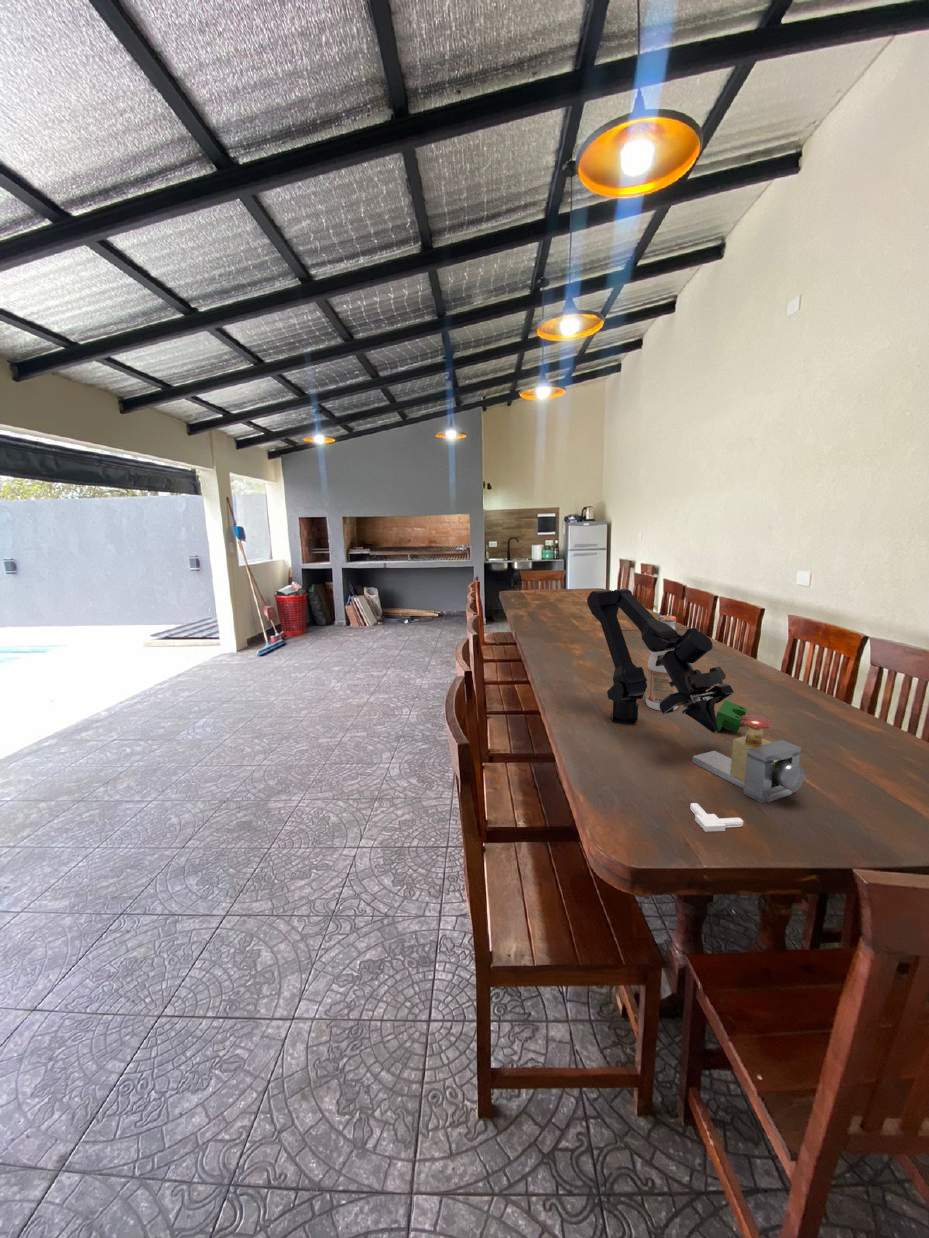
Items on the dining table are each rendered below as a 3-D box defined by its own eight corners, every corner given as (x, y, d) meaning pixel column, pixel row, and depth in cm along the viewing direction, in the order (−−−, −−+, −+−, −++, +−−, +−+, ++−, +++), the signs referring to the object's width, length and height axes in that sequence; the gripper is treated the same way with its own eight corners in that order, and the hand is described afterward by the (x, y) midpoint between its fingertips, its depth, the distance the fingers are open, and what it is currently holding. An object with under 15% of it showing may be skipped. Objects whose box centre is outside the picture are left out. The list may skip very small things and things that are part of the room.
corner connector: (723, 807, 99) (723, 800, 99) (747, 832, 92) (748, 824, 91) (683, 809, 99) (684, 802, 99) (704, 834, 91) (705, 826, 91)
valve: (728, 773, 109) (733, 717, 107) (748, 767, 111) (753, 713, 109) (761, 789, 102) (768, 730, 100) (781, 783, 104) (788, 725, 102)
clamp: (730, 748, 135) (740, 725, 129) (707, 737, 138) (715, 715, 132) (742, 719, 142) (752, 697, 136) (720, 710, 145) (728, 688, 140)
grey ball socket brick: (686, 763, 117) (689, 723, 115) (718, 755, 121) (722, 716, 119) (775, 810, 97) (781, 763, 96) (810, 798, 101) (816, 753, 100)
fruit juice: (639, 702, 157) (644, 614, 152) (665, 699, 160) (670, 613, 154) (658, 713, 148) (663, 620, 143) (685, 709, 151) (691, 618, 145)
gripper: (672, 660, 113) (708, 724, 105) (730, 651, 120) (769, 710, 112) (644, 683, 122) (676, 744, 114) (701, 674, 129) (735, 730, 121)
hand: (715, 731), depth 115 cm, fingers closed
